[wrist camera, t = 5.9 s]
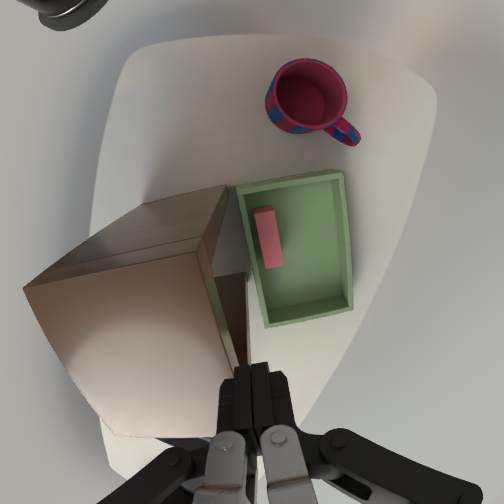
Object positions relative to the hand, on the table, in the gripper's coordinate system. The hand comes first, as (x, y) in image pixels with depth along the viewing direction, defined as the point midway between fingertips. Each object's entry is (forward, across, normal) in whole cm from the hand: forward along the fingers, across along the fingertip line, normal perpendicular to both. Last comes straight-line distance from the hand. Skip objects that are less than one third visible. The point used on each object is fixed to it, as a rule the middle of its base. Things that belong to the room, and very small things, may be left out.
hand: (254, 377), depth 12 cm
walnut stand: (+22, +6, 0) cm, 23 cm away
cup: (+22, -9, -12) cm, 27 cm away
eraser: (+20, -3, 0) cm, 20 cm away
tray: (+22, -6, +2) cm, 23 cm away
